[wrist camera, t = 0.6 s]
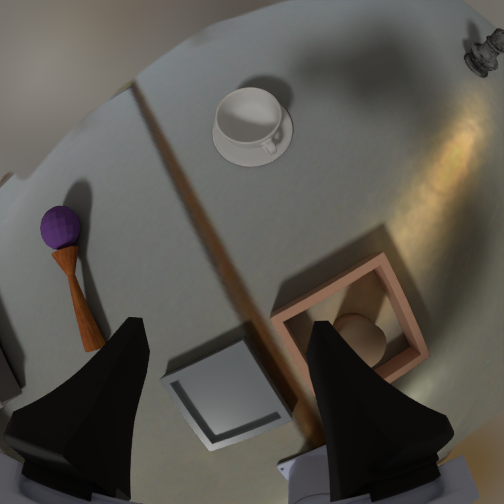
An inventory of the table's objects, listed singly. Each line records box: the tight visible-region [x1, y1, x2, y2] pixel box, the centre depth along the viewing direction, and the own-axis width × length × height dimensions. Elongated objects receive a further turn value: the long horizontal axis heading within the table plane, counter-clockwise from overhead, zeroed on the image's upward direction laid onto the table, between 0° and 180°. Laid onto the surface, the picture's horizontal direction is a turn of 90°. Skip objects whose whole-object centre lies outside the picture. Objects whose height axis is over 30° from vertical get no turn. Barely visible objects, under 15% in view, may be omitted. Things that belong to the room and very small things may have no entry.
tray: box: [159, 336, 293, 451], centre depth 33 cm, size 12×12×2 cm
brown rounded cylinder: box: [333, 313, 386, 367], centre depth 30 cm, size 5×5×6 cm
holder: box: [270, 252, 430, 398], centre depth 31 cm, size 14×14×4 cm
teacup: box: [212, 87, 293, 166], centre depth 33 cm, size 10×10×5 cm
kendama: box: [40, 206, 106, 352], centre depth 35 cm, size 6×6×20 cm
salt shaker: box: [464, 28, 504, 78], centre depth 26 cm, size 6×6×12 cm
